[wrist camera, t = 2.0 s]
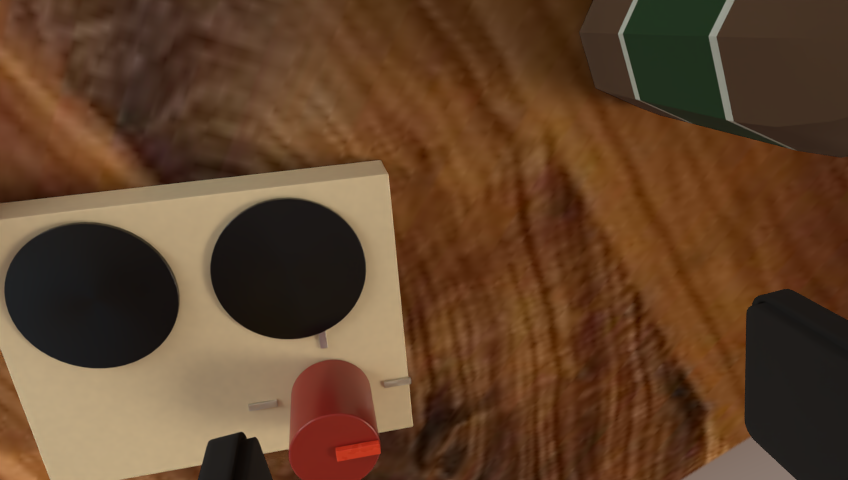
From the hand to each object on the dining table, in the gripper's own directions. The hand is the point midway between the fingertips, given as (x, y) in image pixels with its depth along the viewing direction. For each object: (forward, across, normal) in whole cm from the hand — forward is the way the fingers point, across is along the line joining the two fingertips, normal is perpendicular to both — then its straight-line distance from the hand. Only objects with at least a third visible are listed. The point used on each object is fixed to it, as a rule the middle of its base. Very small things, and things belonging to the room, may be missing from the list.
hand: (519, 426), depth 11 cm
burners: (+17, +10, +2) cm, 20 cm away
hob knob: (+17, +5, +10) cm, 21 cm away
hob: (+20, +10, +5) cm, 23 cm away
